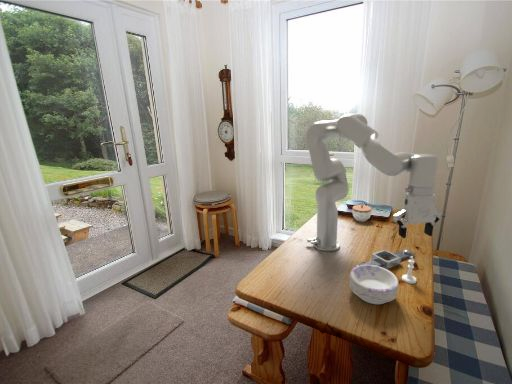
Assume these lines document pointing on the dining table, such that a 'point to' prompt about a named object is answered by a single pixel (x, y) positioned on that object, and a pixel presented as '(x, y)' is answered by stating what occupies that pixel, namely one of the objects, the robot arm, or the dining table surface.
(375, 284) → the paper bowls
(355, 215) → the lidded jar
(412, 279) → the chess piece
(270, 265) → the dining table surface
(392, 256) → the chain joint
